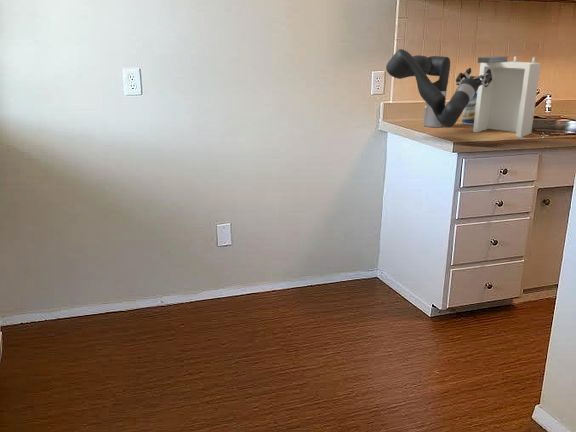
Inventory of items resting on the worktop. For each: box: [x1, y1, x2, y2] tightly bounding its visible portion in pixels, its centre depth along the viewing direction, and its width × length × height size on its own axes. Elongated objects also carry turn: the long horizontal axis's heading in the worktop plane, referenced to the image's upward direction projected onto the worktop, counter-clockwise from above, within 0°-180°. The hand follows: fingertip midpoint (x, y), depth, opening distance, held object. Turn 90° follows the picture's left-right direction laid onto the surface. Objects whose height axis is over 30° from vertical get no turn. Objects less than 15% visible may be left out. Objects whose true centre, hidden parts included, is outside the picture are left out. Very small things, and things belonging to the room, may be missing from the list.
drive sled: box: [477, 55, 509, 64], centre depth 282 cm, size 5×24×2 cm, turn 143°
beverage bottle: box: [461, 90, 478, 126], centre depth 313 cm, size 8×8×20 cm
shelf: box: [472, 56, 542, 138], centre depth 287 cm, size 22×16×34 cm
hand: (479, 70), depth 270 cm, fingers open, 8 cm apart
